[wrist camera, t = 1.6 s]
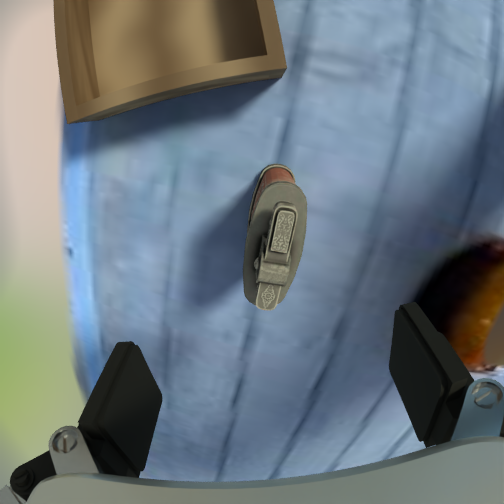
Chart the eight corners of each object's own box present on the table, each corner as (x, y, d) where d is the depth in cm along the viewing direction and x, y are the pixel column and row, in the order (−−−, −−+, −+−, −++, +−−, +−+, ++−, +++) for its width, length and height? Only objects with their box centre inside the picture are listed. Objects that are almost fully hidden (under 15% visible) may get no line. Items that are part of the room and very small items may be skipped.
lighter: (281, 261, 27) (290, 334, 18) (241, 254, 27) (232, 326, 18) (301, 168, 24) (326, 201, 15) (258, 160, 24) (256, 188, 15)
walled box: (248, -72, 15) (246, -103, 11) (281, 77, 21) (286, 67, 17) (82, -24, 17) (53, -40, 12) (99, 120, 23) (67, 123, 18)
